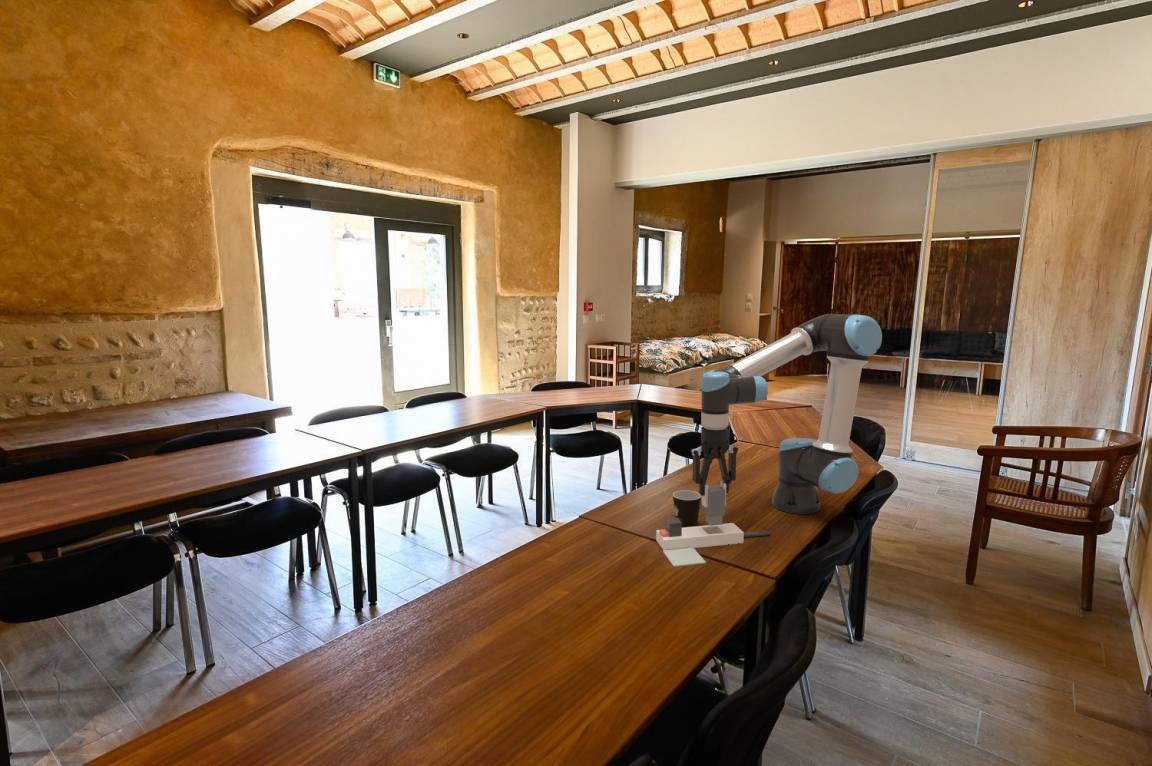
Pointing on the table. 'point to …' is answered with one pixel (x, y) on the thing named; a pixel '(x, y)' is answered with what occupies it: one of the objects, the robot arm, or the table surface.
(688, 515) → the coffee mug
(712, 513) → the block
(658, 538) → the strip
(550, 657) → the table surface
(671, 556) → the pad
